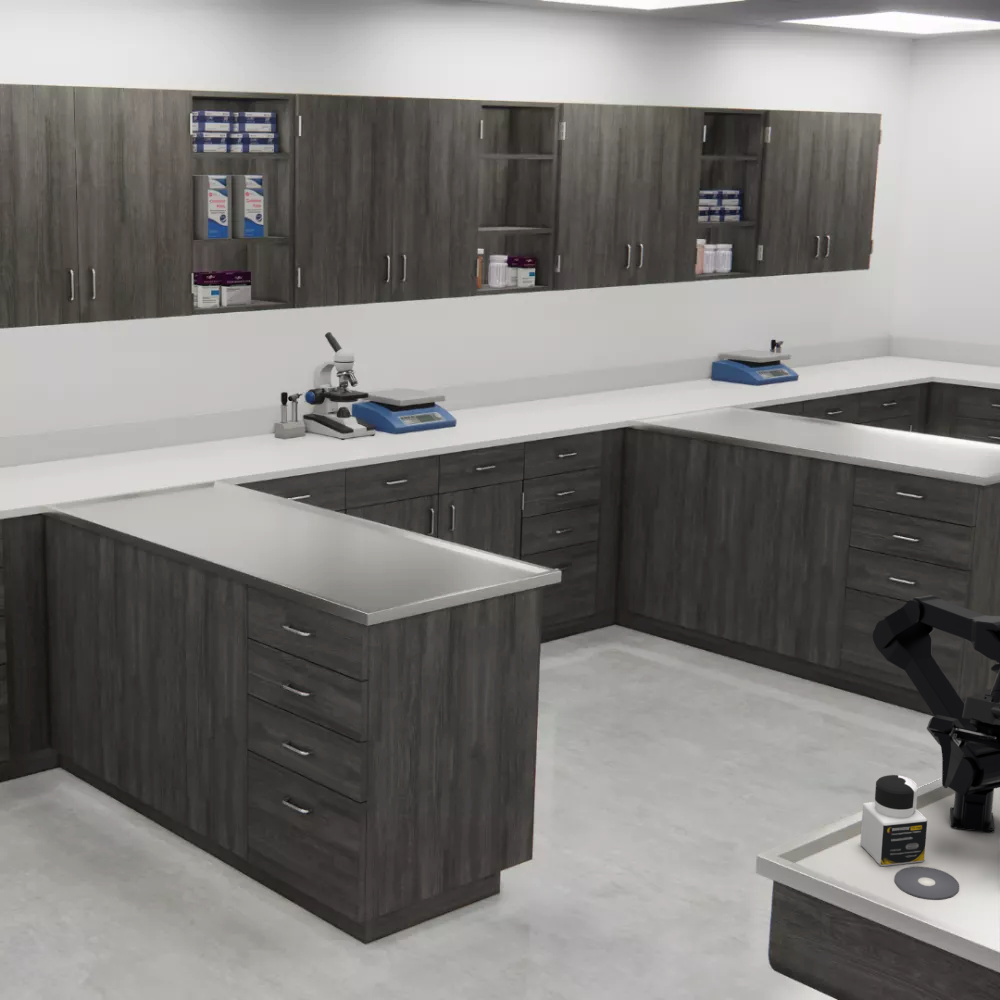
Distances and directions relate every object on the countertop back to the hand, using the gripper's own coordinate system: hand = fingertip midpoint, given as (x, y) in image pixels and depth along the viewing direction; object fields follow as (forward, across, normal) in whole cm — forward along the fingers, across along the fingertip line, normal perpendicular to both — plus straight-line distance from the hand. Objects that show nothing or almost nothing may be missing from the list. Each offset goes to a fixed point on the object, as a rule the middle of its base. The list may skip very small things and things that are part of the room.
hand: (973, 794), depth 209 cm
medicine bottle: (+10, -12, +6) cm, 17 cm away
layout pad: (+14, -4, +3) cm, 15 cm away
